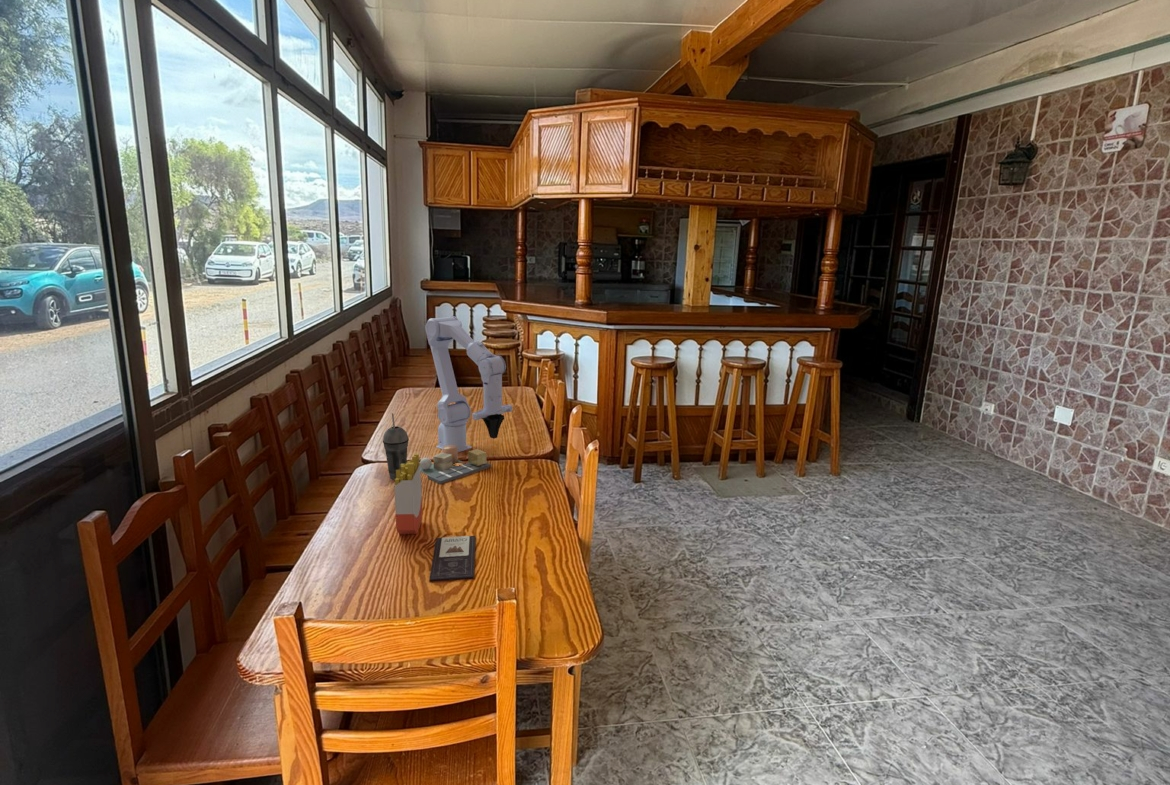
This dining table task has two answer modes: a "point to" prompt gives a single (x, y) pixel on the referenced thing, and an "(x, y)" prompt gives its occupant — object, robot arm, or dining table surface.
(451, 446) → the peach domed cylinder
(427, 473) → the slate mat
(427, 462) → the grey ball
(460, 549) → the chocolate bar
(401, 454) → the beverage cup
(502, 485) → the dining table surface
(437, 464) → the birch block
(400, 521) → the french fries container
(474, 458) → the tan cardboard cube
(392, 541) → the dining table surface
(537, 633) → the dining table surface
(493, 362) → the robot arm
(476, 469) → the board
